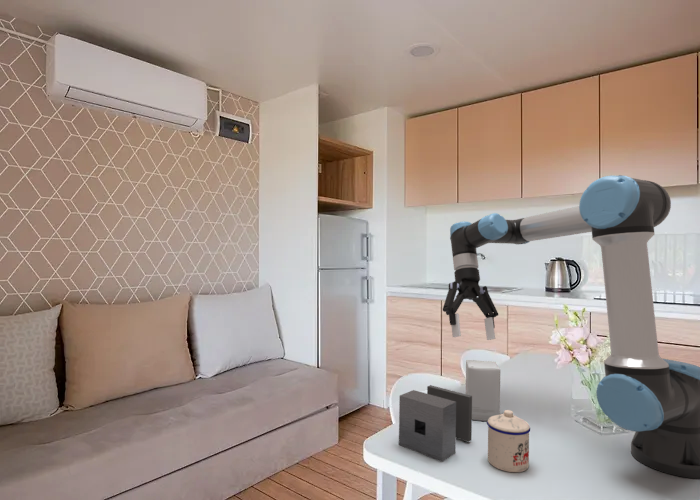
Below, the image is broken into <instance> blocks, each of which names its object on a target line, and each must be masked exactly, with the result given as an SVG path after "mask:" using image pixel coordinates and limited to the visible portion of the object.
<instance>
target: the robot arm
mask: <svg viewBox="0 0 700 500" xmlns="http://www.w3.org/2000/svg"><path fill="white" fill-rule="evenodd" d="M671 208H672V201H671V197H670V194H669V192H668V191H667V190H666V189H665V187H663V186H662V185H660V184H658V183H657V182H653V181H650V180H645V179H639V178H633V177H630V176H628V175H621V174H619V175H605V176H602V177H600V178H598V179H596V180H594V181H592V182H591V183H590V184H589V185H588V186H587V187H586V189H585V190H584V191H583V192H582V195H581V197H580V200H579V204H578V205H577V206H572V207H568V208H564V209H559V210H555V211H549V212H545V213H540V214H536V215H531V216H526V217H522V218H517V219H506V218H505V217H504V216H503V215H501V214H499V213H496V212H494V213H490V214H488V215H485V216H483V217H482V218H480V219H478V220H477V221H475V222H472V223H471V222H470V221H464V220H463V221H459V222H455V223H454V224H452V225H451V226H450V229H449V231H450V235H449V239H450V245H451V255H452V262H453V263H452V264H453V269H454V271H453V272H454V281H452V282H449V283H448V291H447V294H446V298H445V301H444V304H443V306H442V311H443V312H444V313H445V315H447V316H448V317H449V325H450V326H451V333H452V335H451V336H452V338H457V337H461V335H462V334H461V324H460V315H459V313H457V311H458V310H459V308H460V307H461V305H462V303H463V301H464V300H470V301H472V302H474V303H475V305H477V307H478V308H479V310H480V312H482V314H483V315H484V317H485V318H484V319H483V320H484V328H485V335H486V340H487V341H491V340H495V339H496V334H495V326H496V325H495V319H494V318H496V317H498V316H499V312H498V309H497V307H496V306H495V304H494V302H493V300H492V298H491V296H490V293H489V289H488V287H487V286H486V285H485V286H480V284H479V283H480V280H481V276H480V269H479V259H478V252H477V249H478V248H479V247H482V246H485V245H487V244H507V245H509V244H510V245H526V244H528V243H530V242H534V241H540V240H547V239H553V238H561V237H566V236H572V235H580V234H586V233H591V237H592V241H593V242H595V244H598V245H599V246H600V250H601V258H602V259H601V260H602V270H603V281H604V292H605V303H606V312H607V313H606V314H607V322H608V324H607V325H608V333H609V334H608V336H609V342H610V343H609V344H610V355H609V356H608V357H606V358H605V360H604V362H603V363H604V375H605V376H604V377H602V379H601V381H599V382H598V384H597V386H596V393H595V394H596V400H597V402H598V405H599V407H600V409H601V411H602V412H603V413H604V415H605V416H606V417H608V419H609V420H610V421H611V422H612V423H614V424H615V425H617V426H619V427H620V428H622V429H625V430H627V431H630V432H634V435H633V437H632V440H631V442H630V443H631V444H630V454H631V456H632V457H633V459H635V460H636V461H638V462H640V463H641V464H643V465H645V466H646V467H649V468H652V469H654V470H657V471H659V472H661V473H666V474H669V475H673V476H676V477H682V478H688V479H689V478H690V479H700V366H699V365H697V364H691V363H689V362H683V361H680V360H679V361H678V360H674V359H673V360H672V359H668V358H667V359H666V358H663V357H661V356H660V354H659V346H658V345H659V344H658V335H657V326H656V325H657V324H656V316H655V307H654V297H653V296H654V295H653V287H652V277H651V271H650V270H651V269H650V268H651V267H650V261H649V260H650V259H649V258H650V257H649V251H648V243H649V241H650V240H651V238H653V237H654V236H655V227H656V228H657V226H659V225H660V224H662V223H663V222H664V221H665V220H666V218H667V217H668V216H669V214H670V212H671ZM456 294H457V295H456Z"/></svg>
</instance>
